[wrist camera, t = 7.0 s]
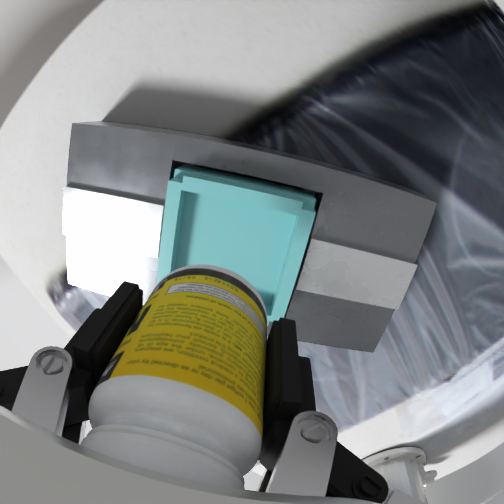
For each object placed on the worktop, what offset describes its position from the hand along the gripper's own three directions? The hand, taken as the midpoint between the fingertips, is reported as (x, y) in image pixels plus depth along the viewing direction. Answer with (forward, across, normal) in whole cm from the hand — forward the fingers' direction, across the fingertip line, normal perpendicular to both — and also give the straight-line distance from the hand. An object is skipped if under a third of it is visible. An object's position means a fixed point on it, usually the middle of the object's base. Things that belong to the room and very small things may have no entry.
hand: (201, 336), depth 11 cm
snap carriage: (+11, 0, 0) cm, 11 cm away
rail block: (+13, 0, 0) cm, 13 cm away
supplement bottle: (+2, 0, 0) cm, 2 cm away
